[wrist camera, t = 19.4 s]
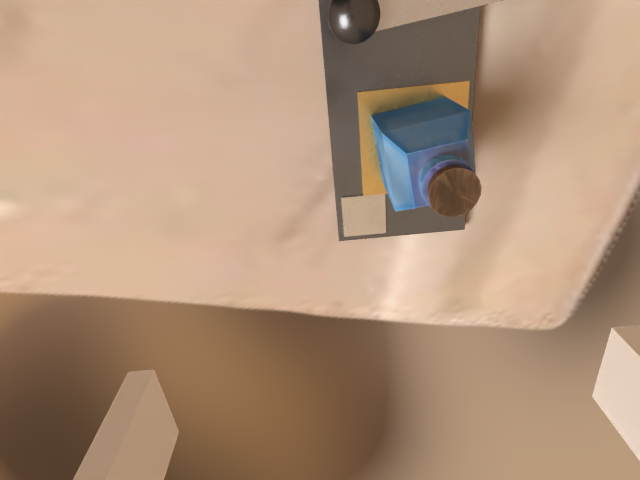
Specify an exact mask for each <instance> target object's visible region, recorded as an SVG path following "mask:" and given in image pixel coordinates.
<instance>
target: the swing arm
mask: <svg viewBox="0 0 640 480" xmlns="http://www.w3.org/2000/svg"><path fill="white" fill-rule="evenodd" d="M498 1H503V0H332V1H331V3H330V6H329V10H328V22H329V26H330V28H331V30H332V32H333V34H334V35H335V36H336V37H337V38H338V39H340V40H341V41H343V42H345V43H348V44H359V43H362V42H364V41H366V40H368V39H369V38H370V37H371V36H372V35H373V34H374V32H375V31H380V30H384V29H388V28H392V27H396V26H400V25H404V24H408V23H412V22H416V21H421V20H425V19H429V18H433V17H437V16H441V15H445V14H449V13H453V12H457V11H462V10H466V9H470V8H474V7H478V6H482V5H486V4H490V3H494V2H498Z"/></svg>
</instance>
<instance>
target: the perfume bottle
mask: <svg viewBox="0 0 640 480" xmlns="http://www.w3.org/2000/svg"><path fill="white" fill-rule="evenodd" d="M371 119H372V125H373V130H374V135H375V141H376V146H377V152H378V157H379V163H380V168H381V174H382V179H383V184H384V186H385V189H386V191H387V193H388V196H389V198H390V200H391V203H392V205H393V207H394V210H395V212H396V211H402V210H408V209H414V208H419V207H423V206H428V205H429V206H430V207H432V208H433V209H434V211H435V212H437V213H438V214H440V215H442V216H446V217H457V216H460V215H463V214H465V213H467V212H468V211H470V210H471V209H472V208H473V207H474V206H475V205H476V203H477V202H478V200H479V198H480V195H481V184H480V180H479V178H478V177H477V176H476V174H475V161H474V148H473V134H472V121H471V111H470V110H468V109H467V108H465V107H463V106H461V105H460V104H458V103H456V102H454V101H453V100H451V99H449V98H447V97H446V96H445V97H441V98H437V99H433V100H429V101H425V102H421V103H417V104H413V105H409V106H405V107H401V108H397V109H393V110H389V111H385V112H381V113H377V114H373V115H371Z"/></svg>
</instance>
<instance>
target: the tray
mask: <svg viewBox="0 0 640 480" xmlns="http://www.w3.org/2000/svg"><path fill="white" fill-rule="evenodd" d="M331 1H332V0H319V10H320V22H321V33H322V45H323V57H324V69H325V80H326V92H327V104H328V116H329V127H330V139H331V151H332V163H333V174H334V186H335V198H336V210H337V222H338V233H339V241H344V240H355V239H366V238H377V237H388V236H399V235H410V234H421V233H431V232H442V231H453V230H464V229H465V215H466V213H465V214H463V215H460V216H457V217H446V216H442V215H440V214H438V213H437V212H435V211H434V209H433V208H432V207H430V206H429V205H428V206H423V207H419V208H414V209H408V210H402V211H396V212H395V210H394V207H393V205H392V203H391V200H390V198H389V196H388V193H387V191H386V189H385V186H384V184H383V179H382V174H381V168H380V163H379V157H378V152H377V146H376V141H375V135H374V130H373V125H372V119H371V115H373V114H377V113H381V112H385V111H389V110H393V109H397V108H401V107H405V106H409V105H413V104H417V103H421V102H425V101H429V100H433V99H437V98H441V97H445V96H446V97H447V98H449V99H451V100H453V101H454V102H456V103H458V104H460V105H461V106H463V107H465V108H467V109H468V110H470V111H471V121H472V117H473V103H474V89H475V75H476V61H477V46H478V32H479V18H480V6H478V7H474V8H470V9H466V10H462V11H457V12H453V13H449V14H445V15H441V16H437V17H433V18H429V19H425V20H421V21H416V22H412V23H408V24H404V25H400V26H396V27H392V28H388V29H384V30H380V31H375V32H374V34H373V35H372V36H371V37H370V38H369V39H368V40H366V41H364V42H362V43H359V44H348V43H345V42H343V41H341V40H340V39H338V38H337V37H336V36H335V35H334V34H333V32H332V30H331V28H330V26H329V22H328V10H329V6H330V3H331Z"/></svg>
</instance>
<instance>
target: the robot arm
mask: <svg viewBox="0 0 640 480" xmlns="http://www.w3.org/2000/svg"><path fill="white" fill-rule="evenodd" d="M592 397H593V398H594V399H595V401H596V402H597V403H598V405H599V406H600V407H601V409H602V410H603V412H604V413H605V414H606V416H607V417H608V418H609V420H610V421H611V422H612V424H613V425H614V426H615V428H616V429H617V431H618V432H619V433H620V435H621V436H622V437H623V439H624V440H625V441H626V443H627V444H628V445H629V447H630V448H631V450H632V451H633V452H634V454H635V455H636V456H637V458H638V459H639V460H640V325H634V326H624V327H613V328H612V329H611V333H610V336H609V339H608V343H607V346H606V350H605V353H604V357H603V360H602V364H601V367H600V370H599V374H598V377H597V381H596V384H595V388H594V392H593V395H592ZM178 433H179V431H178V429H177V426H176V424H175V421H174V419H173V416H172V414H171V411H170V409H169V406H168V404H167V401H166V399H165V396H164V394H163V391H162V389H161V386H160V384H159V381H158V379H157V376H156V374H155V371H154V370H146V371H134V372H128V374H127V376H126V378H125V379H124V381H123V383H122V385H121V387H120V389H119V391H118V393H117V395H116V397H115V399H114V401H113V403H112V405H111V407H110V409H109V411H108V413H107V414H106V416H105V418H104V420H103V422H102V424H101V426H100V428H99V430H98V432H97V434H96V436H95V438H94V440H93V442H92V444H91V446H90V448H89V450H88V452H87V453H86V455H85V457H84V459H83V461H82V464H81V465H80V467H79V469H78V471H77V473H76V475H75V477H74V479H73V480H164V477H165V474H166V471H167V468H168V464H169V461H170V458H171V455H172V452H173V449H174V446H175V443H176V439H177V436H178Z"/></svg>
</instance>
